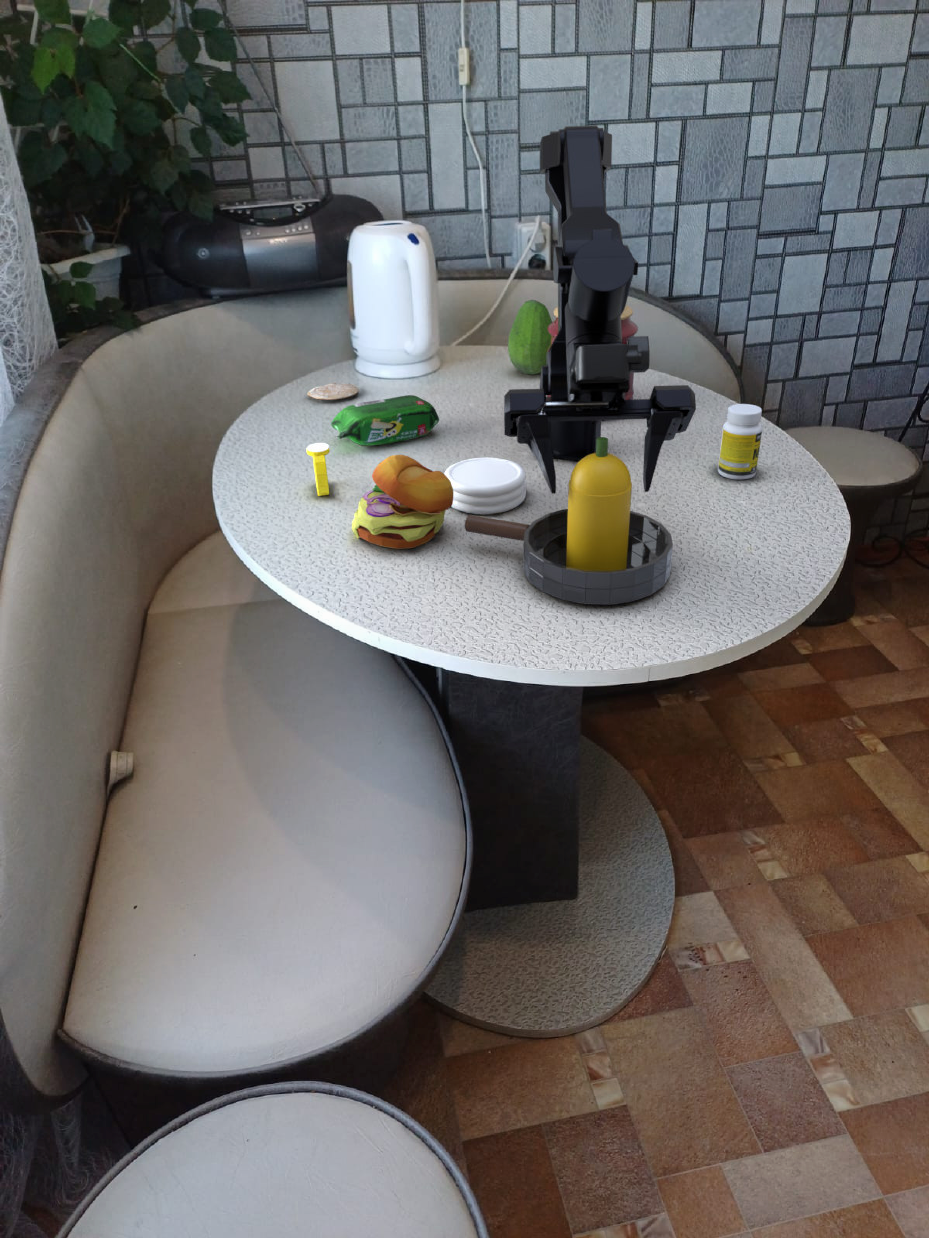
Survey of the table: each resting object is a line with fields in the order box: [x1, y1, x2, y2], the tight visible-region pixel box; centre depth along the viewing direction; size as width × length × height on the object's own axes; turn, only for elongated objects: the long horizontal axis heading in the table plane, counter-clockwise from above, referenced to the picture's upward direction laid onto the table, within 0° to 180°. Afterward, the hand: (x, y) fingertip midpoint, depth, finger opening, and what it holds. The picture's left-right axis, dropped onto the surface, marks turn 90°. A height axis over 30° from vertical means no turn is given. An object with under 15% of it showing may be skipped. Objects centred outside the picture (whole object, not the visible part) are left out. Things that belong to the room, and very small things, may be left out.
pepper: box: [566, 436, 633, 571], centre depth 94 cm, size 6×6×14 cm
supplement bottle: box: [717, 403, 763, 480], centre depth 116 cm, size 5×5×8 cm
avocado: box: [507, 299, 553, 376], centre depth 153 cm, size 8×8×12 cm
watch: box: [305, 442, 331, 497], centre depth 116 cm, size 6×3×6 cm, turn 12°
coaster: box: [443, 457, 527, 515], centre depth 113 cm, size 10×10×4 cm
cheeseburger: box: [351, 454, 453, 550], centre depth 105 cm, size 10×11×10 cm
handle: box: [464, 514, 530, 542], centre depth 100 cm, size 7×2×2 cm, turn 66°
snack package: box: [330, 394, 440, 447], centre depth 131 cm, size 7×16×5 cm, turn 115°
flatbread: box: [306, 382, 360, 401], centre depth 149 cm, size 8×8×1 cm
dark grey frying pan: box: [522, 508, 674, 606], centre depth 97 cm, size 15×15×4 cm
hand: (600, 491), depth 92 cm, fingers open, 9 cm apart
